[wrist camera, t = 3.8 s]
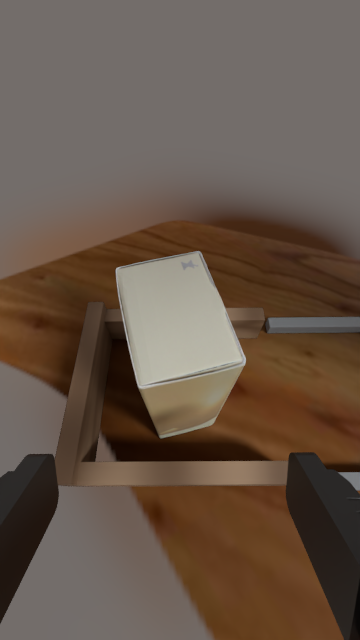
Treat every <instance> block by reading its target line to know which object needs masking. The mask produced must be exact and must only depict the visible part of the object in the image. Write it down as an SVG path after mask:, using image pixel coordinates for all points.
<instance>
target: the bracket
mask: <svg viewBox="0 0 360 640" xmlns="http://www.w3.org/2000/svg"><path fill="white" fill-rule="evenodd" d="M265 325H266V330H267V333H343V332H360V317H292V318H268V319H267V321H266V323H265ZM338 473H339V474H340V475H342V476H343V477H344V478H346V479H347V480H348V481H349V482H350V483H351V484H352V485H353V487H354V488H355V489H356V490H360V472H338Z"/></svg>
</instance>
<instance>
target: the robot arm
mask: <svg viewBox="0 0 360 640" xmlns="http://www.w3.org/2000/svg"><path fill="white" fill-rule="evenodd" d="M58 497H59V491H58V483H57V475H56V467H55V460H54V456H53V455H52V454H29V455H27V456H26V457H25V458H24V459H23V460H22V462H21V463H20V464H19V465H18V467H17V468H16V469H15V471H11V472H10V471H9V472H7V473H6V474H4V475H3V476H2V477H1V478H0V623H1V621H2V619H3V617H4V615H5V613H6V611H7V609H8V607H9V605H10V603H11V601H12V598H13V597H14V595H15V593H16V591H17V589H18V587H19V585H20V583H21V581H22V578H23V576H24V574H25V572H26V570H27V568H28V566H29V564H30V562H31V560H32V558H33V556H34V554H35V552H36V550H37V548H38V546H39V544H40V542H41V540H42V538H43V536H44V534H45V532H46V529H47V528H48V525H49V523H50V521H51V519H52V517H53V515H54V513H55V511H56V508H57V504H58ZM286 499H287V505H288V508H289V512H290V514H291V516H292V519H293V521H294V523H295V526H296V528H297V530H298V533H299V535H300V537H301V540H302V542H303V544H304V547H305V549H306V551H307V554H308V556H309V558H310V561H311V563H312V565H313V568H314V570H315V572H316V575H317V577H318V579H319V582H320V584H321V586H322V589H323V591H324V593H325V596H326V598H327V600H328V603H329V605H330V607H331V610H332V612H333V614H334V617H335V619H336V621H337V623H338V626H339V628H340V630H341V633H342V635H343V637H344V640H360V495H359V493H358V492H357V491H356V489H355V488H354V487H353V485H352V484H351V483H350V482H349V481H348V480H347V479H346V478H344V477H343V476H342V475H340V474H339V473H338V472H337V471H335V470H334V469H326V467H325V466H324V465H323V463H322V462H321V460H320V459H319V457H318V456H317V455H316V454H315V453H313V452H303V453H290V455H289V460H288V471H287V483H286Z"/></svg>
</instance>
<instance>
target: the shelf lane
mask: <svg viewBox="0 0 360 640" xmlns="http://www.w3.org/2000/svg"><path fill="white" fill-rule="evenodd" d="M225 309H226V312H227V315H228V317H229V320H230V322H231V324H232V327H233V329H234V331H235V334H236V336H237V338H257V337H258V335H259V332H260V330H261V328H262V326H263V324H264V322H265V316H264V311H263V308H225ZM113 339H126V334H125V329H124V324H123V319H122V314H121V309H106V307H105V304H104V302H88V306H87V311H86V315H85V320H84V325H83V330H82V334H81V339H80V344H79V348H78V353H77V358H76V362H75V367H74V372H73V376H72V381H71V386H70V390H69V395H68V400H67V405H66V410H65V414H64V418H63V423H62V428H61V433H60V437H59V442H58V446H57V451H56V456H55V467H56V475H57V483H58V485H61V486H282V485H286V483H287V471H288V461H171V462H95V458H96V451H97V444H98V438H99V431H100V424H101V417H102V410H103V403H104V396H105V389H106V382H107V375H108V368H109V361H110V354H111V347H112V340H113Z"/></svg>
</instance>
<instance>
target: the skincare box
mask: <svg viewBox="0 0 360 640" xmlns="http://www.w3.org/2000/svg"><path fill="white" fill-rule="evenodd" d="M115 272H116V281H117V290H118V297H119V303H120V308H121V314H122V319H123V324H124V329H125V334H126V339H127V343H128V348H129V352H130V357H131V361H132V365H133V369H134V374H135V378H136V382H137V386H138V389H139V391H140V393H141V396H142V398H143V400H144V403H145V405H146V407H147V409H148V412H149V414H150V416H151V419H152V421H153V423H154V426H155V428H156V431H157V433H158V435H159V438H165V437H169V436H174V435H178V434H182V433H185V432H189V431H193V430H197V429H200V428H204V427H207V426H210V425H212V424H213V423H214V421H215V419H216V417H217V416H218V414H219V412H220V410H221V408H222V406H223V404H224V403H225V401H226V399H227V397H228V395H229V393H230V391H231V389H232V388H233V386H234V384H235V382H236V380H237V378H238V377H239V375H240V373H241V371H242V369H243V367H244V365H245V363H246V358H245V356H244V354H243V351H242V349H241V346H240V344H239V341H238V339H237V336H236V334H235V331H234V329H233V327H232V324H231V322H230V320H229V317H228V315H227V312H226V309H225V307H224V304H223V302H222V299H221V297H220V295H219V293H218V291H217V289H216V287H215V284H214V282H213V279H212V277H211V274H210V272H209V270H208V267H207V265H206V263H205V261H204V258H203V256H202V253H201V252H199V251H196V252H191V253H187V254H180V255H175V256H170V257H164V258H160V259H154V260H149V261H144V262H139V263H134V264H131V265H127V266H122V267H118V268H117V269H116V271H115Z"/></svg>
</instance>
